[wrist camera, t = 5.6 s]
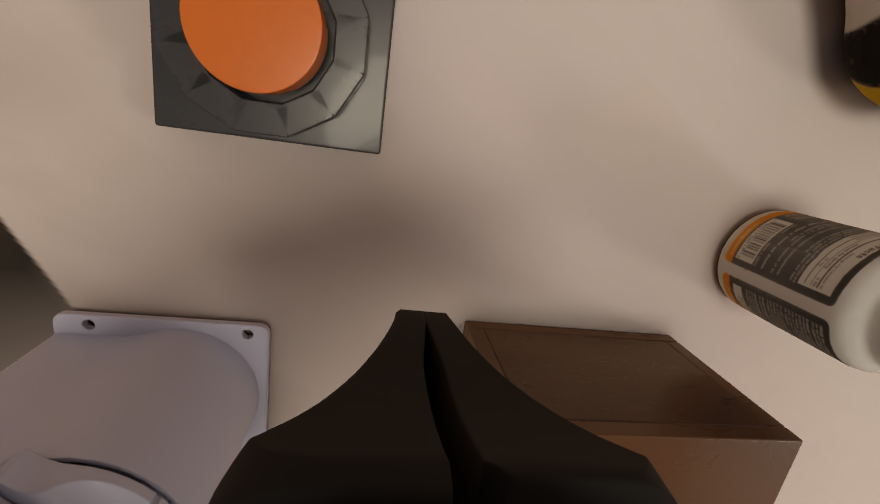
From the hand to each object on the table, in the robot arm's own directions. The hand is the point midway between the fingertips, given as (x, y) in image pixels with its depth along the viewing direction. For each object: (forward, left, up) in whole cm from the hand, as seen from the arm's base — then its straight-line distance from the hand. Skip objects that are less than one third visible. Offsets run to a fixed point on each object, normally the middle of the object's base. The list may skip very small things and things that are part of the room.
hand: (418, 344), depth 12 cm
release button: (-6, +8, -8) cm, 13 cm away
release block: (-6, +8, -10) cm, 14 cm away
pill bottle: (+20, +1, -11) cm, 23 cm away
